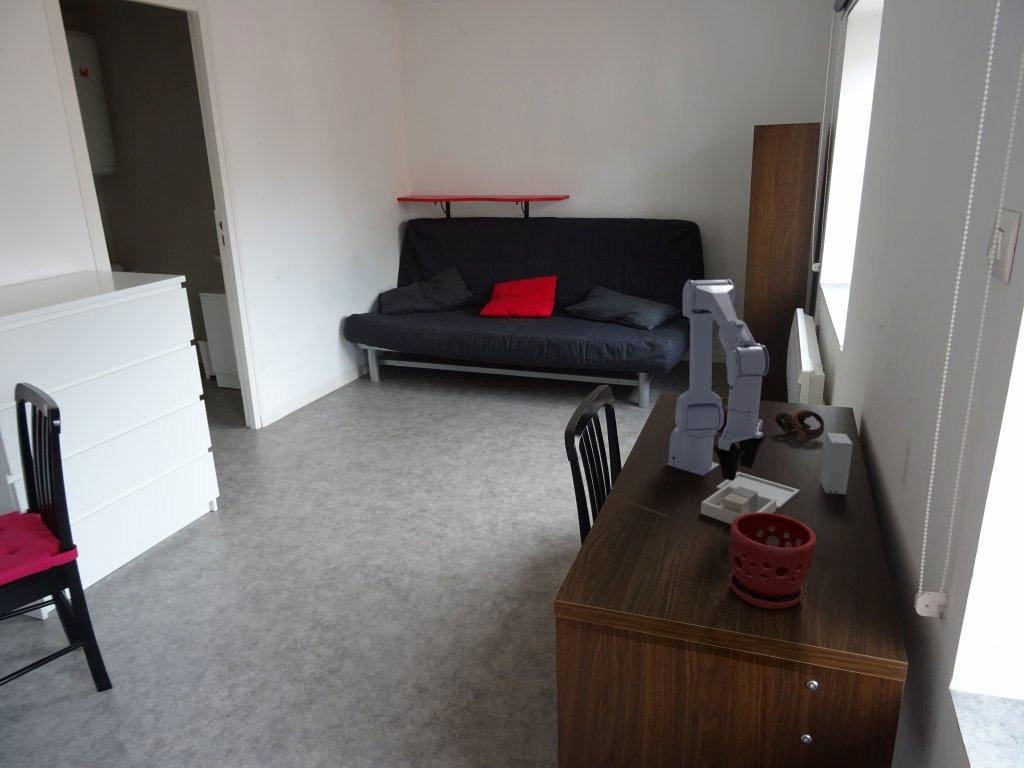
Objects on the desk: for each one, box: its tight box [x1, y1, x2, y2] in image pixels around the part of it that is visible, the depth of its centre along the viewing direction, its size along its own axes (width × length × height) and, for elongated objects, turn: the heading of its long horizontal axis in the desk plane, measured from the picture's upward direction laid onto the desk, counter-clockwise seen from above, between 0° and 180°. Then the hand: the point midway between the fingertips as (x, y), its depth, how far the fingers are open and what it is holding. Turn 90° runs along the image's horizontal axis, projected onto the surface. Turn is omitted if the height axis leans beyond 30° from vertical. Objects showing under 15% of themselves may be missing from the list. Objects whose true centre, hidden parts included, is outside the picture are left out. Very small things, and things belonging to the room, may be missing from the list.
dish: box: [700, 485, 777, 525], centre depth 145 cm, size 11×11×3 cm
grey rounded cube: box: [731, 487, 758, 513], centre depth 145 cm, size 4×3×4 cm
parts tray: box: [716, 471, 800, 509], centre depth 154 cm, size 14×10×1 cm
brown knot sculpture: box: [774, 409, 825, 444], centre depth 183 cm, size 12×10×8 cm
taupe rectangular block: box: [722, 493, 750, 514], centre depth 143 cm, size 4×3×4 cm
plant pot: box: [728, 512, 817, 610], centre depth 118 cm, size 13×13×12 cm
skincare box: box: [819, 432, 854, 495], centre depth 154 cm, size 6×4×12 cm
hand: (737, 472), depth 141 cm, fingers open, 7 cm apart
